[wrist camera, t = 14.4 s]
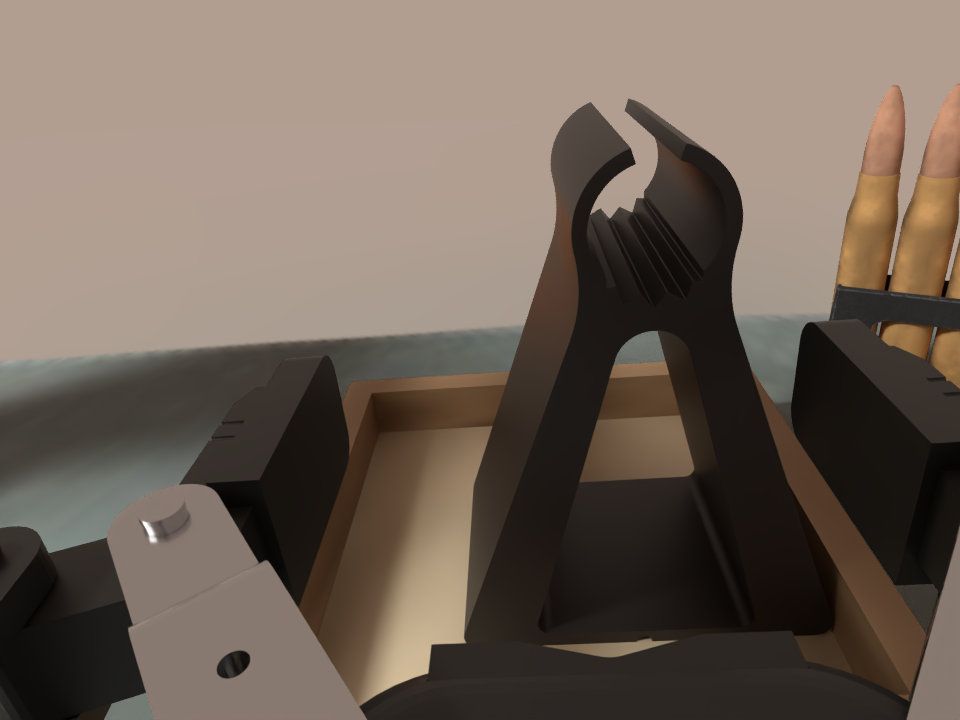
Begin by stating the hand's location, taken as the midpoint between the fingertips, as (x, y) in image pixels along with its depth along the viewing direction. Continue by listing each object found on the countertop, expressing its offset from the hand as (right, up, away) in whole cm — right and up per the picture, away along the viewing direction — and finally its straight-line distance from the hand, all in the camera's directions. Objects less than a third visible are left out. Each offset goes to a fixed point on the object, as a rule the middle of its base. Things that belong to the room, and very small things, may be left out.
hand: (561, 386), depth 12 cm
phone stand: (+3, -5, +8) cm, 10 cm away
